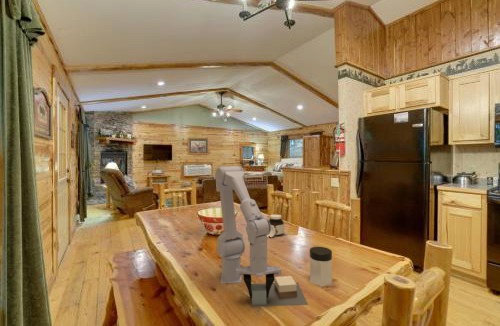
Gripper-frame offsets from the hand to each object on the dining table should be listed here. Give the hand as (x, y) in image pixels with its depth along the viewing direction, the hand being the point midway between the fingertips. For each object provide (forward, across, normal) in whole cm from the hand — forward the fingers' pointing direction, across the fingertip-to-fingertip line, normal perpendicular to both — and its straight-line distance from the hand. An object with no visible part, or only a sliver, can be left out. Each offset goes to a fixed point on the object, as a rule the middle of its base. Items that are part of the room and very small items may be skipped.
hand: (258, 296), depth 81 cm
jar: (+2, +24, +12) cm, 27 cm away
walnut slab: (+1, +10, +4) cm, 10 cm away
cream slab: (-1, +10, +4) cm, 10 cm away
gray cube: (+1, 0, 0) cm, 1 cm away
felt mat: (+2, +6, +4) cm, 8 cm away
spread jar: (+2, +14, +68) cm, 70 cm away
